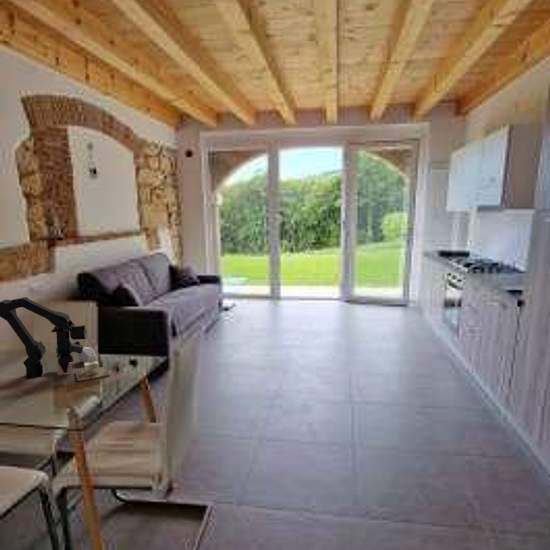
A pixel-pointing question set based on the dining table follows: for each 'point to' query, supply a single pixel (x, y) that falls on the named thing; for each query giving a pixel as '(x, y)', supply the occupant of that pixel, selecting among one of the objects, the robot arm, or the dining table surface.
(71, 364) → the terracotta brick
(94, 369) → the birch brick
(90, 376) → the walnut board
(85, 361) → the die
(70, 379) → the dining table surface
